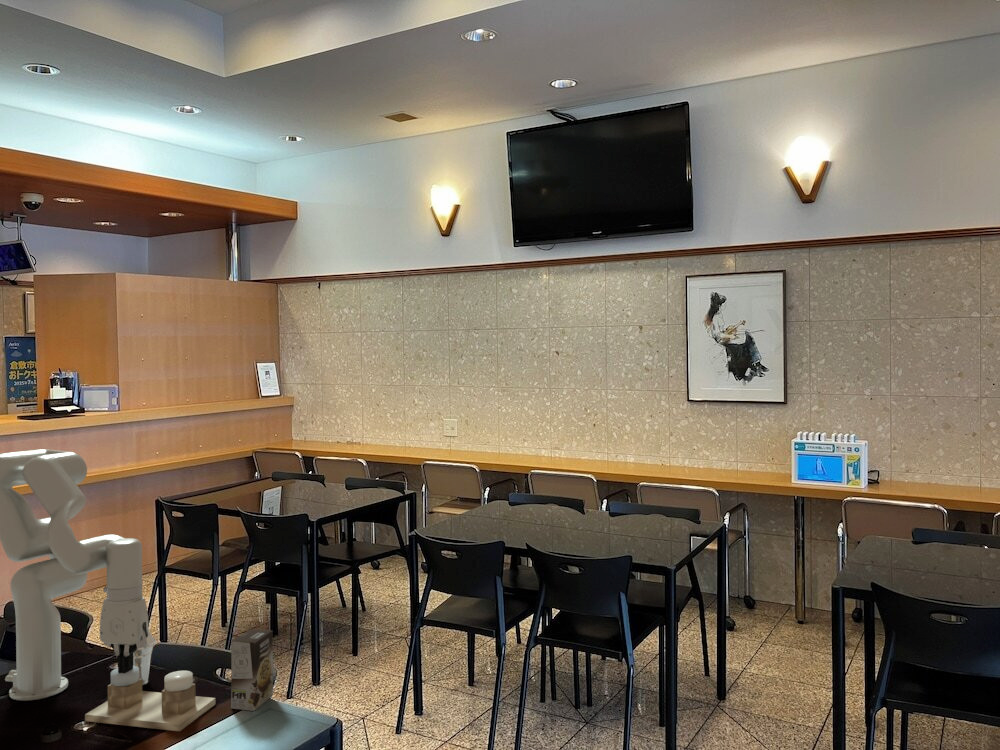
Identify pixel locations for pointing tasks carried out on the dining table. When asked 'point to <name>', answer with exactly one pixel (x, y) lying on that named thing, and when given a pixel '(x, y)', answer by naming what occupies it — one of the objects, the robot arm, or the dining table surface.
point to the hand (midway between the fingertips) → (125, 670)
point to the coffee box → (251, 669)
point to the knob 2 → (178, 680)
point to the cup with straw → (144, 658)
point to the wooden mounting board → (150, 707)
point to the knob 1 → (124, 677)
